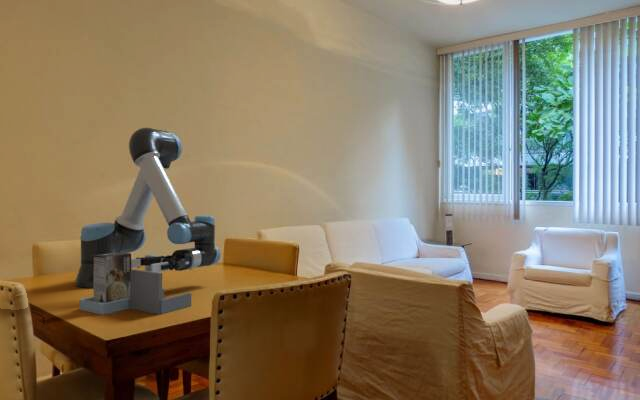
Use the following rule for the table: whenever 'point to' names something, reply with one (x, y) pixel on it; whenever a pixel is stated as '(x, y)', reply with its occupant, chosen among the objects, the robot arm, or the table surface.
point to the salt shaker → (148, 267)
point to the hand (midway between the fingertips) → (137, 266)
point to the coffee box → (111, 276)
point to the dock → (153, 294)
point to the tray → (104, 306)
